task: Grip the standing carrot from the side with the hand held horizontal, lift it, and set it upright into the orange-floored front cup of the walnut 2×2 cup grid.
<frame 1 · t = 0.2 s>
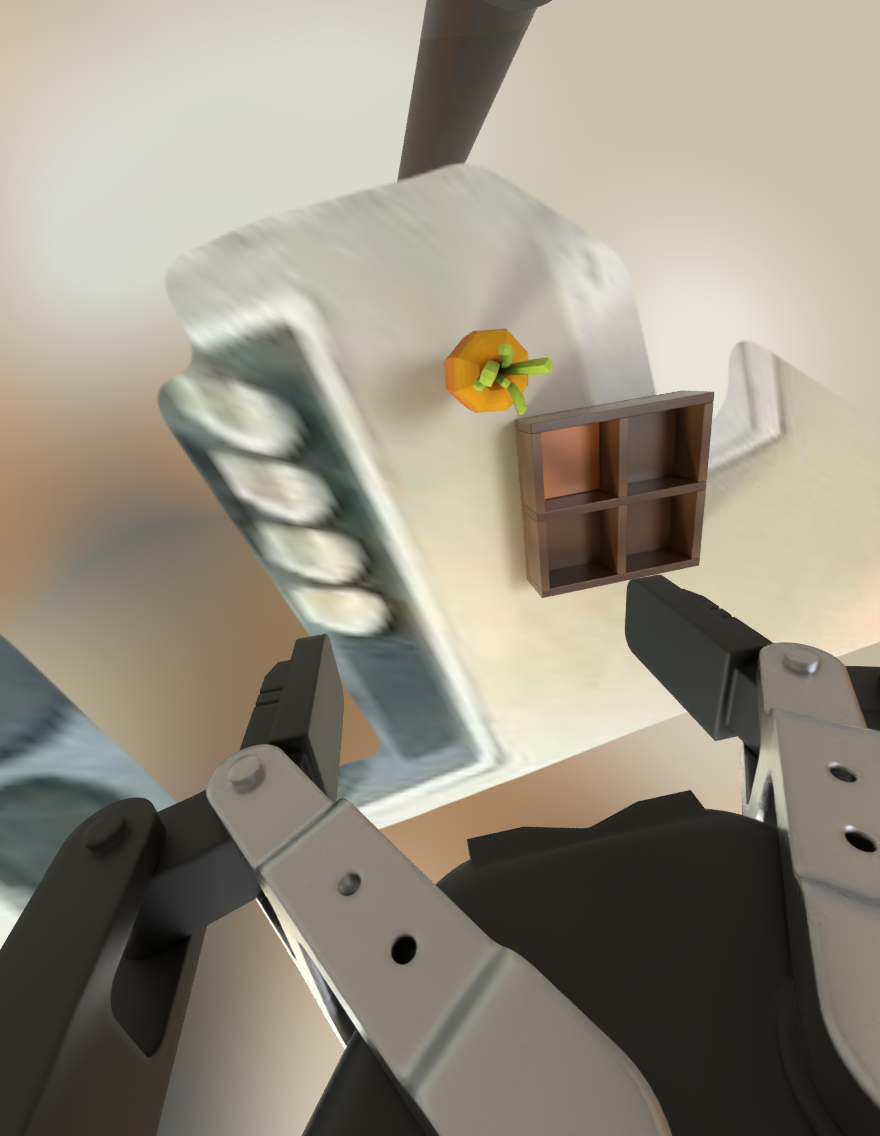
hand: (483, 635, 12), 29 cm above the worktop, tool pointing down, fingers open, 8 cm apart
grid: (600, 490, 43), on the worktop
carrot: (459, 373, 37), on the worktop
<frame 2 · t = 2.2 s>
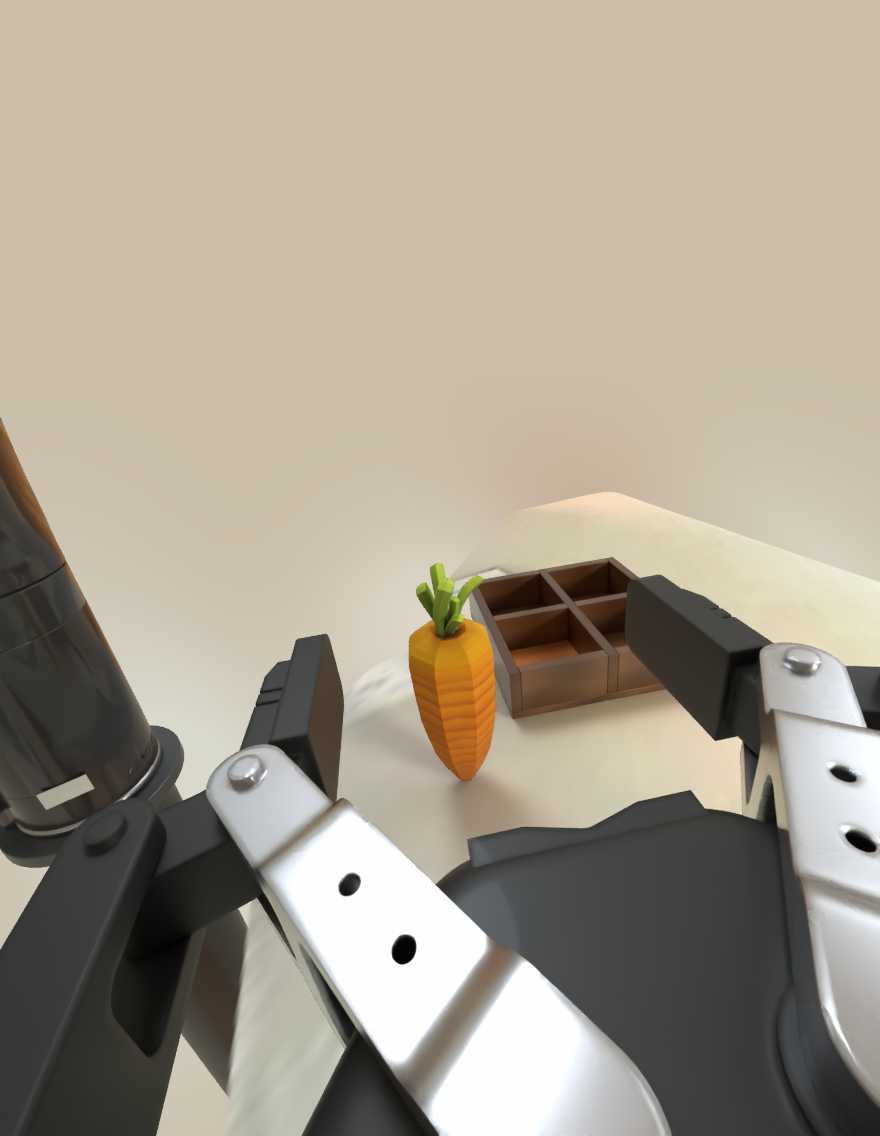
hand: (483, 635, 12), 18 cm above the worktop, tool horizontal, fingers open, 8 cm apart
grid: (571, 643, 41), on the worktop
carrot: (467, 780, 30), on the worktop
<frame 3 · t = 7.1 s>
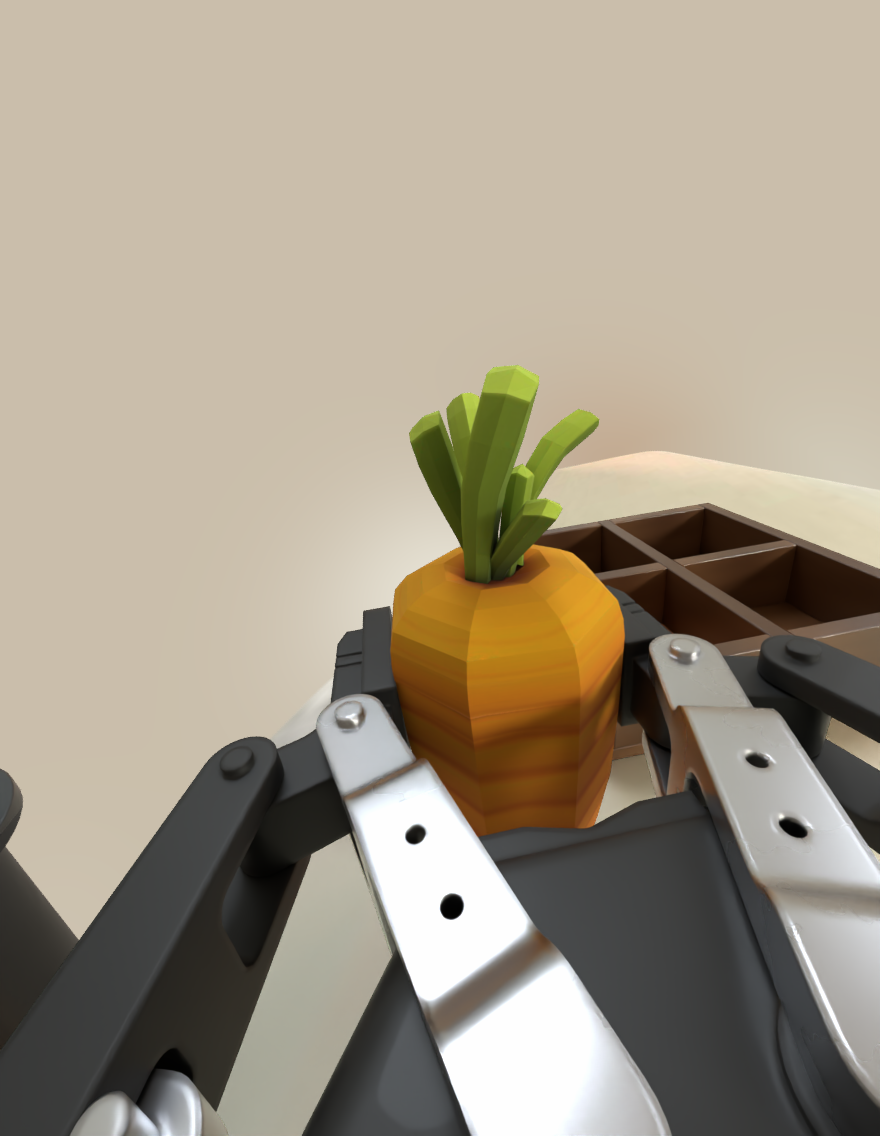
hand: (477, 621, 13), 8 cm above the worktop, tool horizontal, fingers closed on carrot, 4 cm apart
grid: (664, 629, 26), on the worktop
carrot: (522, 909, 14), on the worktop, touching gripper
when the fingers open (9 cm above the worktop, at t = 14.3 s): carrot stays where it is, resting on grid.
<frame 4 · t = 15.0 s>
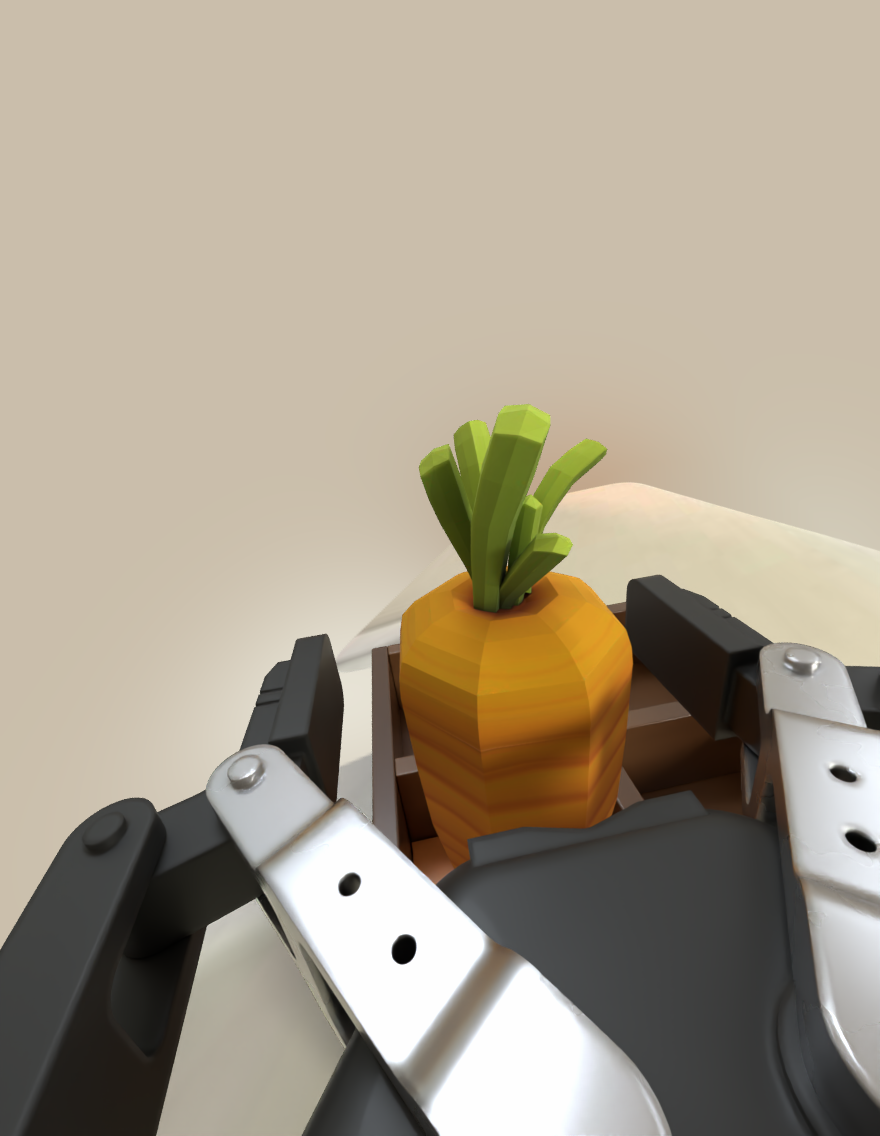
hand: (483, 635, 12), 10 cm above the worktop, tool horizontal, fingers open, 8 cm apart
grid: (585, 807, 18), on the worktop
carrot: (528, 927, 14), point 1 cm above the worktop, touching grid
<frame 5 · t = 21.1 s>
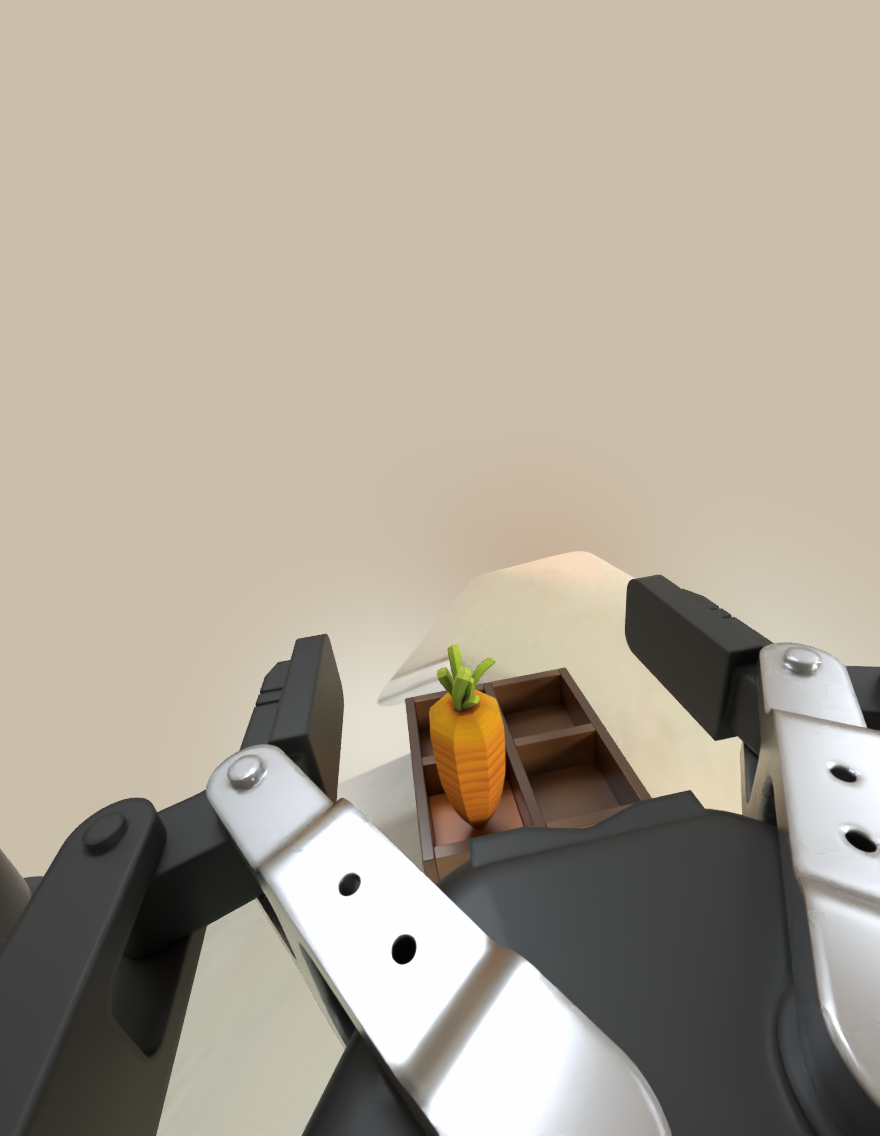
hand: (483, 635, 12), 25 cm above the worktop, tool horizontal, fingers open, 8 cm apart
grid: (512, 781, 37), on the worktop
carrot: (479, 828, 33), point 1 cm above the worktop, touching grid
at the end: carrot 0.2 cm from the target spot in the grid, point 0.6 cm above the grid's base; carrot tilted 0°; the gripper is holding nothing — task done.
